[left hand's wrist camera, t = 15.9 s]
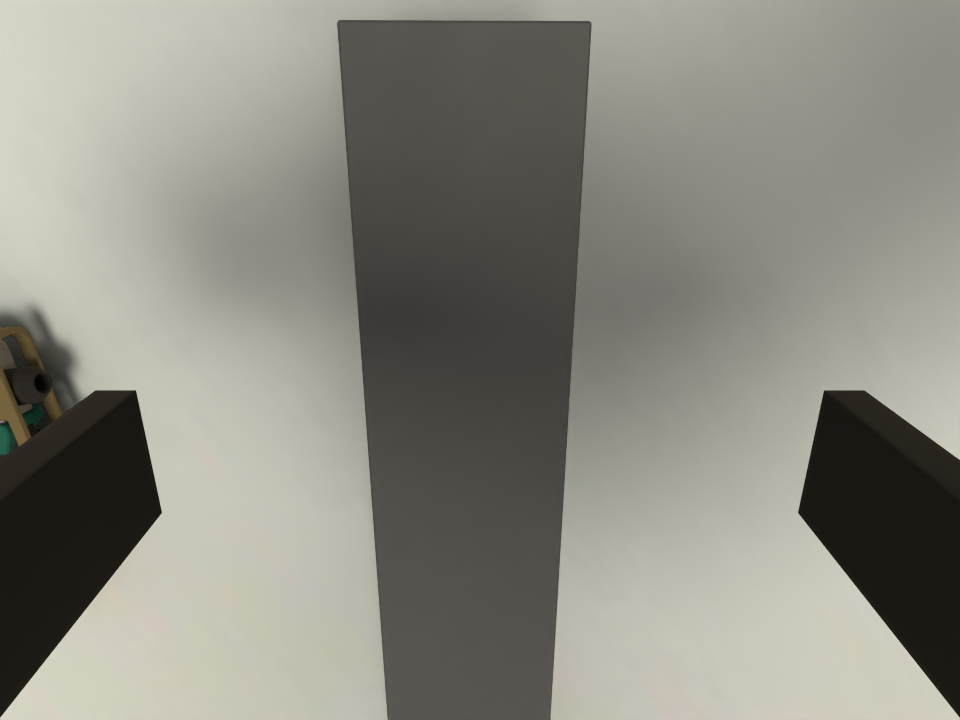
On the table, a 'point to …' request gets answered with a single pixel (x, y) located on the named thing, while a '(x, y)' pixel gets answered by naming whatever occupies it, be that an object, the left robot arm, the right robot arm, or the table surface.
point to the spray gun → (22, 392)
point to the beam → (466, 344)
